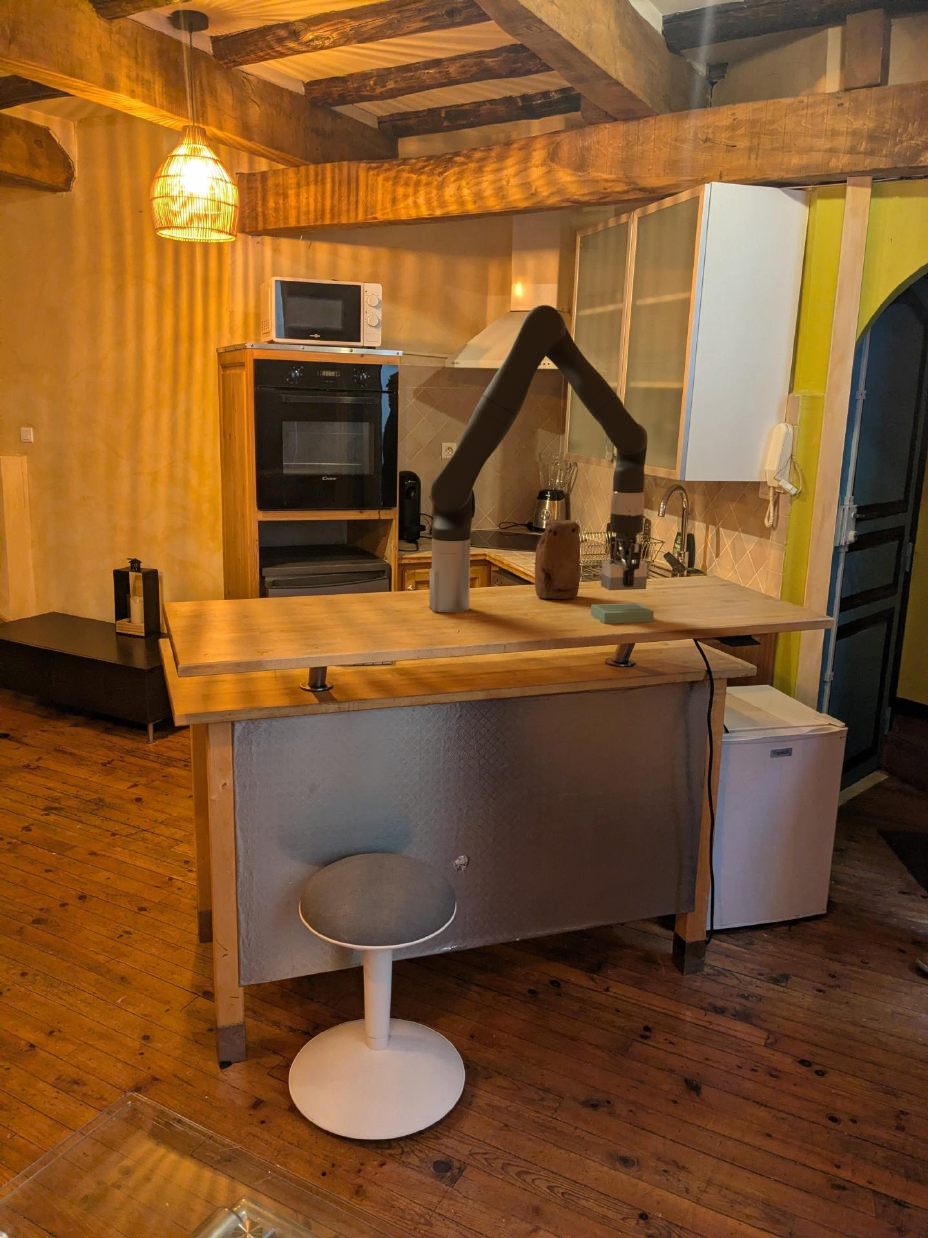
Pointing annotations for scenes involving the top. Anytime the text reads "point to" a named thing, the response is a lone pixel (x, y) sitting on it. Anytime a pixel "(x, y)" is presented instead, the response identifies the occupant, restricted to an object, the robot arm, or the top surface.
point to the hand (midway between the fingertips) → (623, 583)
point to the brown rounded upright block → (558, 560)
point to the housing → (622, 575)
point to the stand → (622, 613)
